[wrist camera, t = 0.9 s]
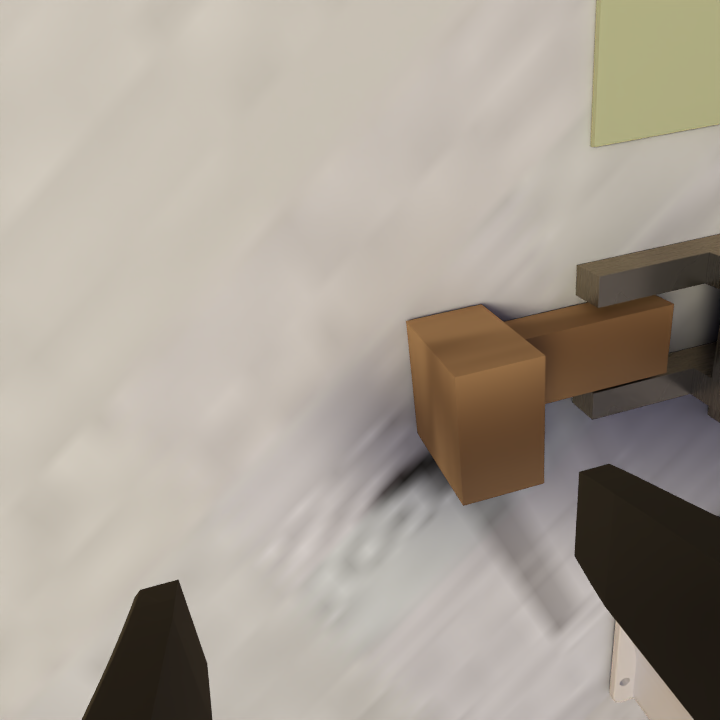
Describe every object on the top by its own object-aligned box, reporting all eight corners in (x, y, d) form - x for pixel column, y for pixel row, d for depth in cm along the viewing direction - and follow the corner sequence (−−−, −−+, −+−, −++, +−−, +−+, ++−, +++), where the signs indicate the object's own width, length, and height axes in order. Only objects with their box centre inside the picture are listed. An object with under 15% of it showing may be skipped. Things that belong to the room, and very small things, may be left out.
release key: (636, 375, 22) (721, 433, 18) (416, 431, 20) (463, 505, 17) (646, 266, 20) (742, 308, 16) (405, 319, 18) (454, 377, 15)
